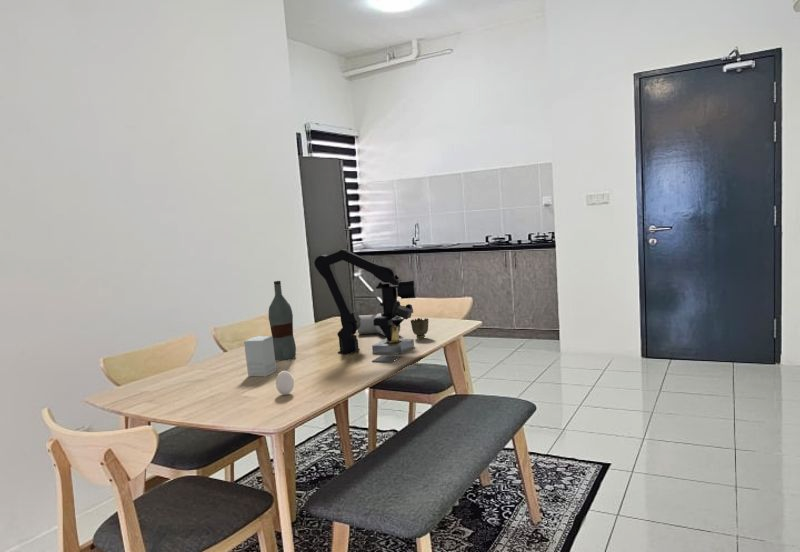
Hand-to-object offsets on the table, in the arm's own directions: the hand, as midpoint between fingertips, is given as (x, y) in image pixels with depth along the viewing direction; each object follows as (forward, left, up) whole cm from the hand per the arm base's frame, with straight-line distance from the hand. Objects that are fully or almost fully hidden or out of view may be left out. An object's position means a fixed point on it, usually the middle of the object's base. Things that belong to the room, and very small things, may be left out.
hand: (392, 339), depth 220 cm
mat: (+4, -14, -4) cm, 15 cm away
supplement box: (-33, -38, -4) cm, 51 cm away
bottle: (-38, -18, -4) cm, 42 cm away
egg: (-9, -57, -4) cm, 58 cm away
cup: (+3, +20, -4) cm, 21 cm away
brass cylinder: (0, 0, -4) cm, 4 cm away
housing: (0, 0, -4) cm, 4 cm away
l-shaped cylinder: (-19, +26, -4) cm, 33 cm away
